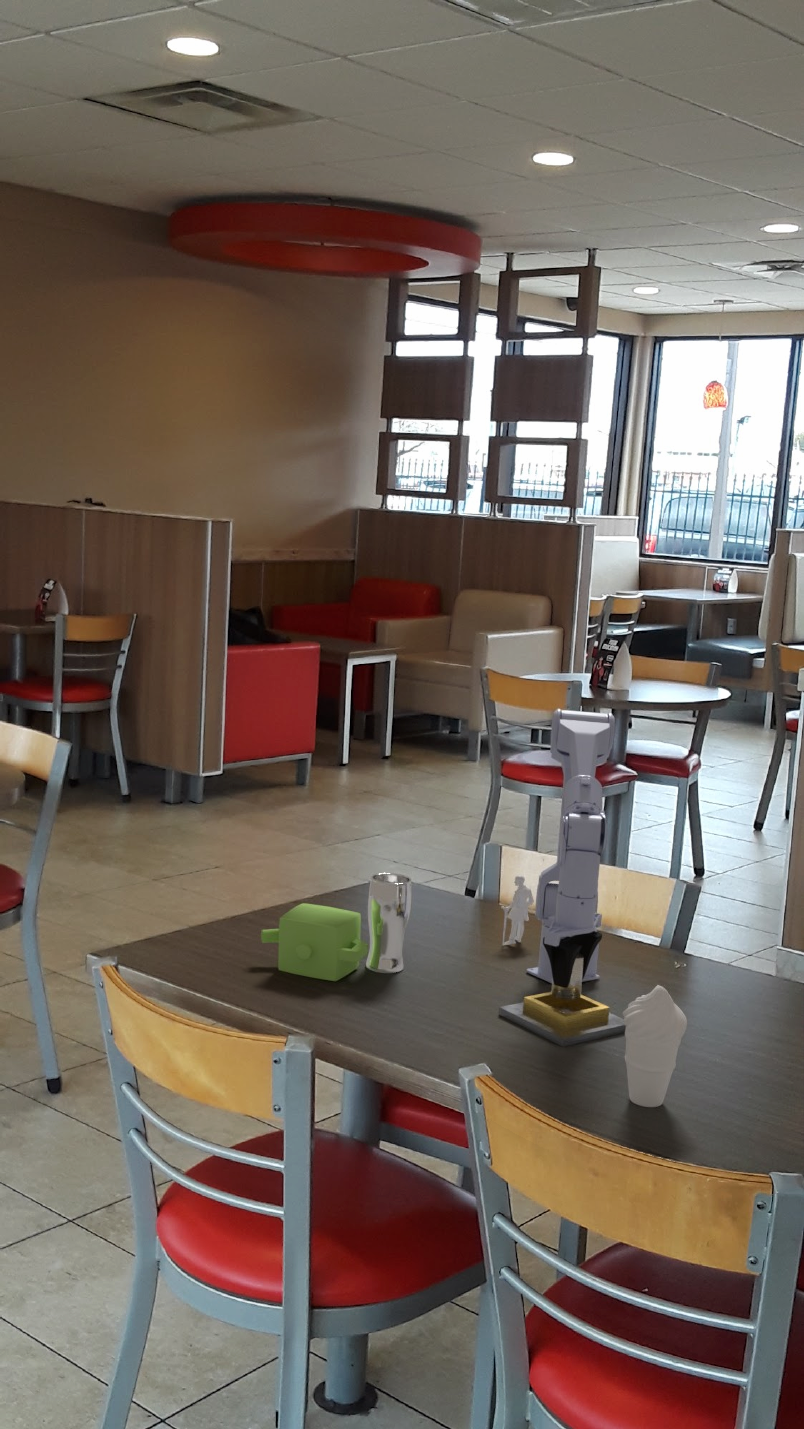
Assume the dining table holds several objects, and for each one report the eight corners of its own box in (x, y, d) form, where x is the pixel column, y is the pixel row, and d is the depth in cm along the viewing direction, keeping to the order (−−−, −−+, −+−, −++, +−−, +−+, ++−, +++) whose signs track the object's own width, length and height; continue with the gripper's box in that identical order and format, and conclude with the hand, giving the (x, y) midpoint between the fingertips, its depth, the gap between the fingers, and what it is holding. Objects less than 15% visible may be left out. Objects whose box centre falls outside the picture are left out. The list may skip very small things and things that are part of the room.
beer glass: (401, 976, 228) (408, 886, 226) (358, 971, 229) (365, 880, 227) (409, 963, 235) (416, 875, 232) (368, 958, 236) (374, 870, 234)
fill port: (566, 1000, 223) (568, 981, 222) (631, 1030, 212) (633, 1010, 211) (498, 1014, 214) (500, 994, 214) (562, 1046, 203) (564, 1025, 203)
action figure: (518, 937, 254) (524, 872, 252) (533, 943, 251) (539, 877, 249) (493, 943, 249) (499, 876, 248) (508, 948, 247) (514, 881, 245)
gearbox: (247, 970, 227) (248, 913, 225) (276, 951, 236) (277, 897, 234) (349, 990, 220) (350, 932, 218) (375, 970, 229) (377, 914, 227)
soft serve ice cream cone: (607, 1086, 190) (619, 971, 188) (668, 1088, 191) (681, 974, 189) (622, 1113, 182) (635, 993, 180) (686, 1115, 183) (699, 996, 180)
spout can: (559, 987, 215) (562, 939, 214) (585, 994, 213) (589, 945, 212) (546, 995, 212) (549, 945, 211) (572, 1001, 209) (576, 951, 208)
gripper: (575, 879, 218) (567, 964, 220) (529, 896, 206) (521, 986, 208) (617, 889, 214) (608, 975, 216) (573, 907, 202) (564, 998, 204)
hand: (568, 982), depth 212 cm, fingers closed on spout can, 4 cm apart
